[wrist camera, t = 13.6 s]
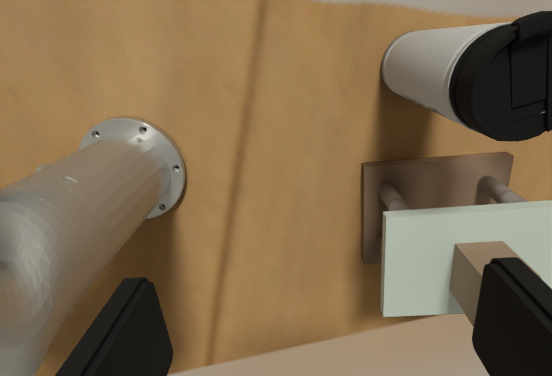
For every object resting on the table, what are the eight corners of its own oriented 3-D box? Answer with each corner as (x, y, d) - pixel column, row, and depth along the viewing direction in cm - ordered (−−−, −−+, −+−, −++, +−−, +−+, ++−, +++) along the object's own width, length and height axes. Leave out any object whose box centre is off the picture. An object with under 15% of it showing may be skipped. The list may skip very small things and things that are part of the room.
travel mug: (437, 18, 34) (614, -11, 15) (446, 85, 36) (608, 129, 18) (374, 39, 35) (468, 36, 16) (386, 103, 37) (480, 162, 19)
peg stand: (361, 256, 45) (381, 315, 35) (361, 162, 40) (384, 201, 30) (489, 249, 43) (545, 308, 34) (505, 151, 38) (577, 188, 29)
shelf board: (380, 308, 35) (397, 360, 29) (382, 211, 30) (404, 250, 25) (546, 300, 33) (599, 353, 28) (573, 198, 29) (642, 236, 23)
